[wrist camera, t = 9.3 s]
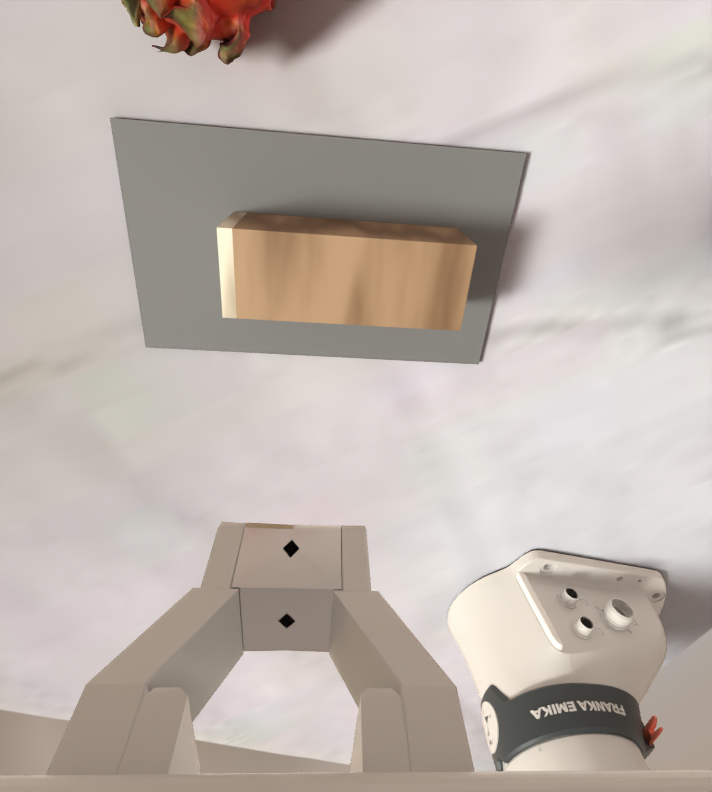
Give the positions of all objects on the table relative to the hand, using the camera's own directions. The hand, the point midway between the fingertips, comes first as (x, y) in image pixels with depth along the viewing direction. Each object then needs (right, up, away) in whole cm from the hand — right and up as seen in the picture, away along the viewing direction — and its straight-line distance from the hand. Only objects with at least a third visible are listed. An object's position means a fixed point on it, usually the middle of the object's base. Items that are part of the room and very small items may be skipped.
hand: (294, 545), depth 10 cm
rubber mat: (-1, +12, +21) cm, 25 cm away
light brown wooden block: (-6, +11, +18) cm, 22 cm away
